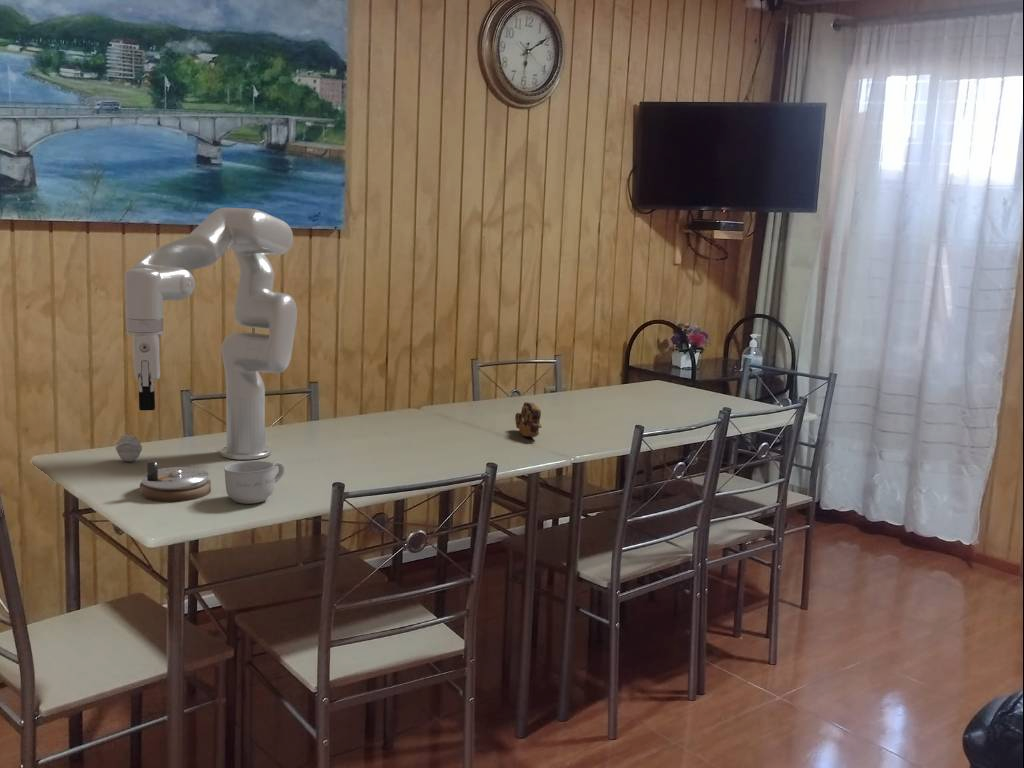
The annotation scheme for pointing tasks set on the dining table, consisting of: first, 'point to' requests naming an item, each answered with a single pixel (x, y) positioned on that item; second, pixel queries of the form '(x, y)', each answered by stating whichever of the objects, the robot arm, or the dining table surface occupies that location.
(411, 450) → the dining table surface
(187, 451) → the dining table surface
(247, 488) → the teacup
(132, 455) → the grey lumpy ball
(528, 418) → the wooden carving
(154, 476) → the handwheel
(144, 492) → the plinth
